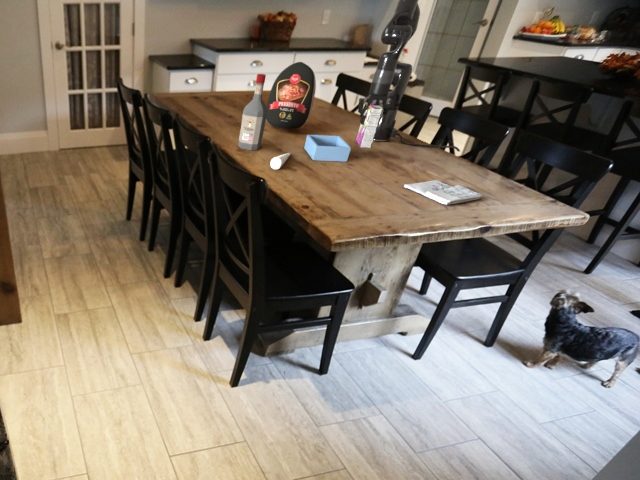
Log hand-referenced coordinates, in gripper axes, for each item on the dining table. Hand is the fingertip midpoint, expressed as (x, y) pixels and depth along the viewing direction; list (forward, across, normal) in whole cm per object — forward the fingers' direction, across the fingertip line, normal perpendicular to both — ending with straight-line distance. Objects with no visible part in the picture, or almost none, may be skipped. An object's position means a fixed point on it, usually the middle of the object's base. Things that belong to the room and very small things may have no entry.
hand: (368, 124), depth 215 cm
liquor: (+13, +49, -5) cm, 51 cm away
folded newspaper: (+13, -17, +44) cm, 49 cm away
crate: (+13, +16, +2) cm, 21 cm away
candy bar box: (+9, 0, 0) cm, 9 cm away
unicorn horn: (+13, +38, +15) cm, 43 cm away
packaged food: (+13, +26, -40) cm, 49 cm away
